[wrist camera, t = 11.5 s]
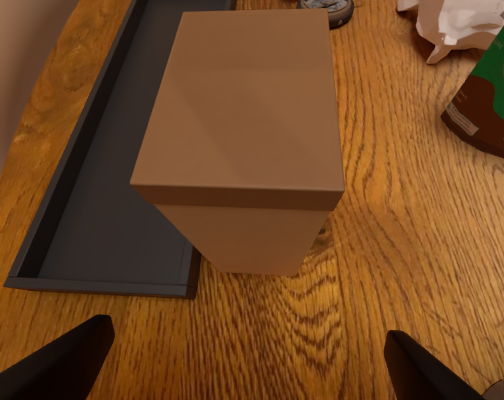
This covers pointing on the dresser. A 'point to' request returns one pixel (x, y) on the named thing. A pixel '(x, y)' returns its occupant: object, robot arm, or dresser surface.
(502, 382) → the cylinder
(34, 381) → the robot arm
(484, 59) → the food container
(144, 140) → the packet
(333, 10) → the compass
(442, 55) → the white bird figurine
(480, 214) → the dresser surface
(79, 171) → the tray
